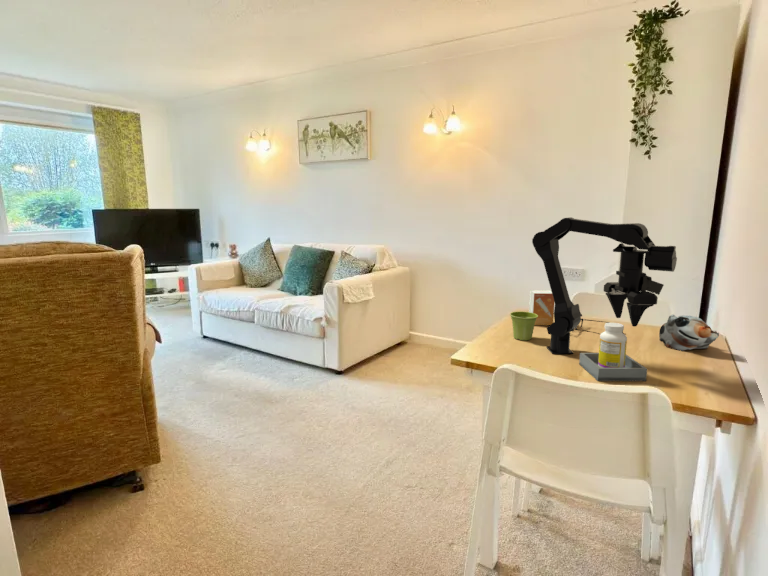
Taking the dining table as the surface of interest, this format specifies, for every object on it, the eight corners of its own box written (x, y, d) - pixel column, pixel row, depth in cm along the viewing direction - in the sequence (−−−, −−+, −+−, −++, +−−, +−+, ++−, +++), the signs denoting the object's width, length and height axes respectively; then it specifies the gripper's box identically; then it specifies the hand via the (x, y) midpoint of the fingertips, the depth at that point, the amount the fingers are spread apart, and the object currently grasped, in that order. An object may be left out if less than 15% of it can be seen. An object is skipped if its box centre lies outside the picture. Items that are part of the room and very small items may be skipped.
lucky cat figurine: (713, 345, 143) (730, 315, 134) (701, 367, 137) (718, 337, 128) (663, 325, 152) (676, 295, 143) (650, 345, 145) (663, 315, 137)
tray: (579, 364, 129) (580, 352, 128) (622, 364, 128) (623, 352, 127) (597, 381, 116) (598, 368, 116) (646, 381, 116) (647, 368, 115)
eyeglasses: (581, 327, 168) (581, 317, 168) (625, 334, 158) (626, 324, 157) (564, 336, 157) (565, 326, 156) (611, 345, 146) (612, 334, 145)
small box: (532, 325, 170) (533, 293, 167) (528, 321, 176) (529, 290, 173) (553, 325, 169) (555, 293, 167) (548, 321, 175) (550, 290, 173)
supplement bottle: (610, 363, 126) (613, 320, 124) (629, 371, 120) (634, 326, 118) (592, 366, 124) (595, 322, 122) (611, 374, 118) (615, 329, 116)
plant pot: (530, 333, 159) (531, 311, 157) (540, 341, 150) (542, 317, 148) (505, 334, 159) (506, 311, 157) (514, 342, 150) (515, 318, 148)
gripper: (681, 273, 113) (674, 331, 116) (642, 263, 131) (637, 313, 134) (637, 273, 113) (631, 331, 116) (604, 264, 132) (600, 314, 135)
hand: (626, 321), depth 125 cm, fingers open, 9 cm apart
